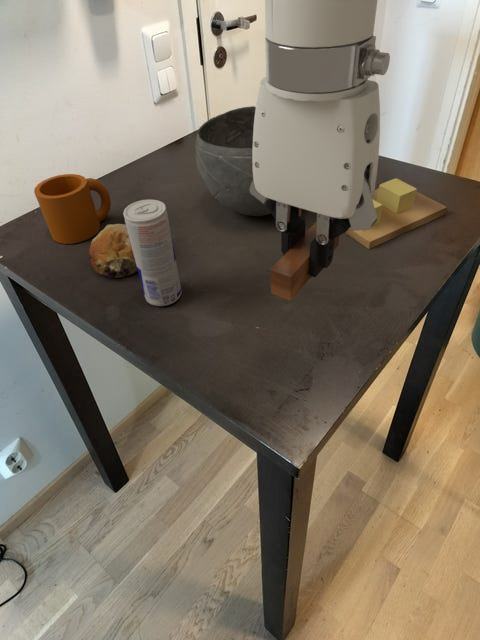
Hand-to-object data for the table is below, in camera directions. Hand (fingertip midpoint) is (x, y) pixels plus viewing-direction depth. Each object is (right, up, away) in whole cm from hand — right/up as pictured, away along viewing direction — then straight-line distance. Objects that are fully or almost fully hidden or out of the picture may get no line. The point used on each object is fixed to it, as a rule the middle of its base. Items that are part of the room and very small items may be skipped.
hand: (306, 263), depth 47 cm
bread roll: (-26, +4, +31) cm, 41 cm away
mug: (-35, +11, +39) cm, 54 cm away
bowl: (-3, +16, +42) cm, 45 cm away
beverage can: (-18, -2, +24) cm, 30 cm away
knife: (+3, +3, +4) cm, 6 cm away
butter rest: (+21, +15, +36) cm, 45 cm away
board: (+19, +13, +37) cm, 43 cm away
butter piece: (+14, +11, +33) cm, 38 cm away
